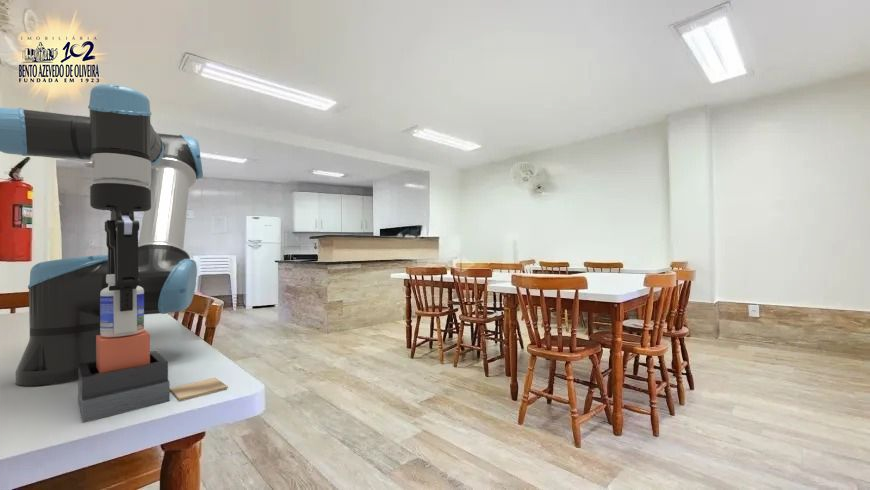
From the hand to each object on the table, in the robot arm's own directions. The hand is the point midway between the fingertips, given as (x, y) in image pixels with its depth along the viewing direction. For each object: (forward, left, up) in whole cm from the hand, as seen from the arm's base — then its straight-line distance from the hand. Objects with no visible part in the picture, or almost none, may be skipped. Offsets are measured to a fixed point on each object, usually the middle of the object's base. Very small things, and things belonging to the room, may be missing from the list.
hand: (122, 329), depth 60 cm
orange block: (0, 0, -6) cm, 6 cm away
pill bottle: (0, 0, -1) cm, 1 cm away
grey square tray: (0, 0, -11) cm, 11 cm away
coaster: (+4, +10, -11) cm, 15 cm away
